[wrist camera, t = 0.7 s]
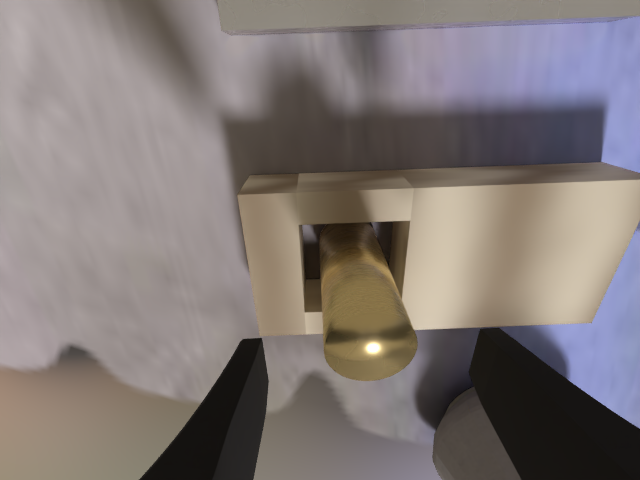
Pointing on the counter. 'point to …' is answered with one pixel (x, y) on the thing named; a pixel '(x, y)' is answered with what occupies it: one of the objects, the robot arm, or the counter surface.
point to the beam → (450, 240)
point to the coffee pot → (470, 444)
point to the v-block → (410, 14)
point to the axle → (361, 306)
